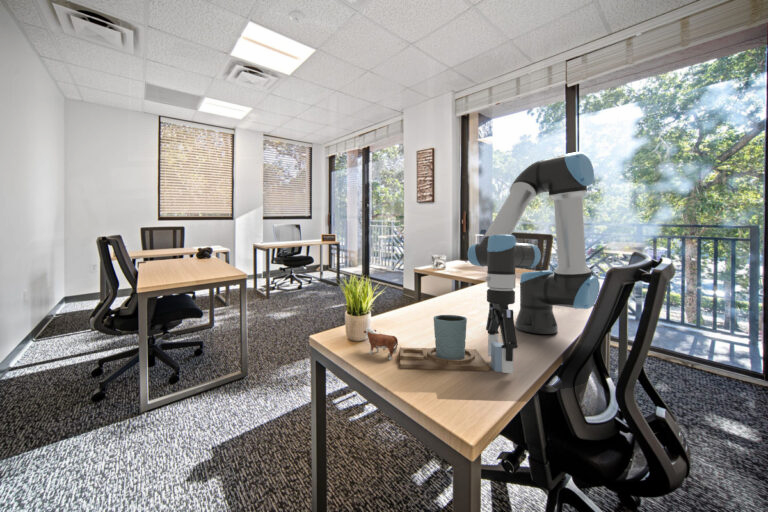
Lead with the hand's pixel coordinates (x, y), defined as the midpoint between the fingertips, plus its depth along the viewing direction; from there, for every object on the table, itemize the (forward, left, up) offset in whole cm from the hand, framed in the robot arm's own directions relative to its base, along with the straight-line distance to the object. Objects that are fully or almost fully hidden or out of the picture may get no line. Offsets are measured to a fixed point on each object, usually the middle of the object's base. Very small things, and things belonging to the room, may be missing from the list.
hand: (499, 363), depth 90 cm
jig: (+16, -7, -2) cm, 17 cm away
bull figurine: (+35, -10, -2) cm, 36 cm away
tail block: (0, 0, -2) cm, 2 cm away
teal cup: (+13, -7, -1) cm, 15 cm away
